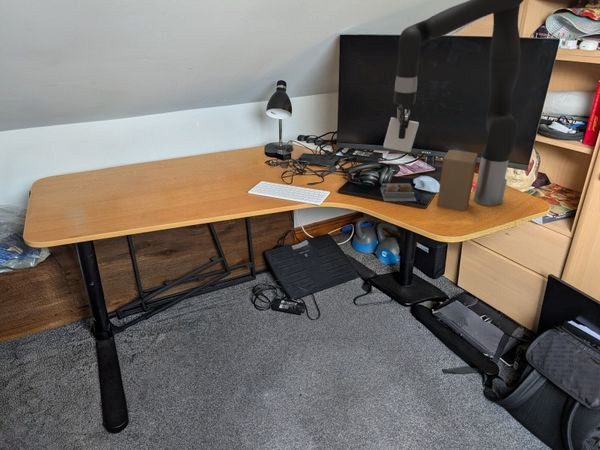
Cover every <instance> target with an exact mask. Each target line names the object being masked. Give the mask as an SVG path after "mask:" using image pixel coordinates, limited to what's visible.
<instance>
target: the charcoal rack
mask: <svg viewBox="0 0 600 450" xmlns="http://www.w3.org/2000/svg"><path fill="white" fill-rule="evenodd" d="M387 185H398V192H386V189H387ZM400 185H411V183H381V187H380V191H381V195H382V199H383V201H384V202H416V201H417V199H416V197H415V192H414V191H413V187H412V188H411V192H399V191H400ZM411 186H412V185H411Z"/></svg>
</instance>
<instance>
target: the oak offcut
mask: <svg viewBox="0 0 600 450" xmlns="http://www.w3.org/2000/svg"><path fill="white" fill-rule="evenodd" d="M386 192H398V185H387V189H386Z"/></svg>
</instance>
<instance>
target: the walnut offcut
mask: <svg viewBox="0 0 600 450" xmlns="http://www.w3.org/2000/svg"><path fill="white" fill-rule="evenodd" d="M411 188H412V189H413V186H412V185H400V191H399V192H411Z"/></svg>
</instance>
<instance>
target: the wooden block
mask: <svg viewBox="0 0 600 450" xmlns="http://www.w3.org/2000/svg"><path fill="white" fill-rule="evenodd" d="M442 161H443V162H442V166H441V167H442V169H441V175H440V181H439V188H438V197H437V203H436V206H437V207H440V208H445V209H451V210H455V211H460V212H466V211H467V209H468V207H469V204H470V201H471V200H470V198H471V194H472V189H473V183H474V177H475V171H476V166H477V161H478V153H477V152H471V151H464V150H456V149H449V150H448V151H447V153H446V154H445V156H444V158H443V160H442Z"/></svg>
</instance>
